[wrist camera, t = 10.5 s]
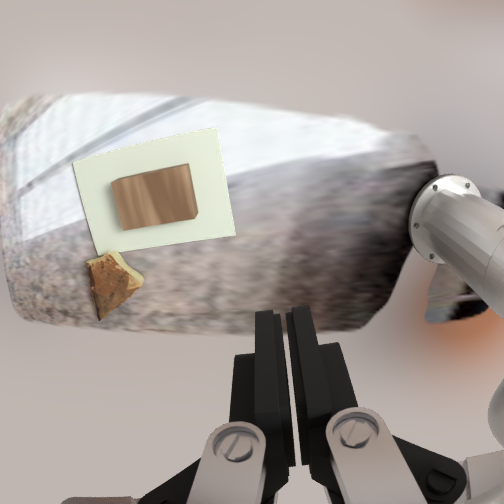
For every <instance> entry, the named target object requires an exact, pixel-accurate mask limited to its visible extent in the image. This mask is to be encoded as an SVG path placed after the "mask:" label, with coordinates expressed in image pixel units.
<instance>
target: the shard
mask: <svg viewBox="0 0 504 504" xmlns="http://www.w3.org/2000/svg"><path fill="white" fill-rule="evenodd" d="M86 264H87V270H88V276H89V279H90V286H91V292H92V297H93V300H94V303H95V307H96V309H97V316H98V319H99V321H100V320H101V319H103V318H104V317H105V316H106V315H107V314H108V313H109V312H110V311H112V310H113V309H114V308H116V307H118V306H119V305H120V304H122V303H123V302H125V301H126V300H127V299H128V298H129V297H131V296H132V295H133V294H134V293H135V292H136V290H137V289H139V288H140V287H141V286H142V284H143V283H144V277H143V276H142V275H140V274H139V273H138V272H136V271H135V270H133V269H132V268H130V267H129V266H128V265H127V264H126V262H125V261H124V260H123V258H122V257H121V255H120V254H119V253H118V252H117V251H115V252H113V251H108V252H107V253H106V254H104V256H101V257H100V258H96V259H91V260H89V261H87V262H86Z"/></svg>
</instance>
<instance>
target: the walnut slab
mask: <svg viewBox="0 0 504 504" xmlns="http://www.w3.org/2000/svg"><path fill="white" fill-rule="evenodd" d="M111 186H112V190H113V194H114V198H115V202H116V206H117V210H118V213H119V217H120V221H121V224H122V228H123V231H126V230H131V229H137V228H143V227H149V226H155V225H161V224H167V223H173V222H179V221H185V220H192V219H195V218H196V216H197V215H198V213H199V212H198V207H197V202H196V197H195V192H194V187H193V182H192V177H191V171H190V166H189V163H187V164H182V165H176V166H171V167H166V168H162V169H157V170H152V171H148V172H143V173H139V174H134V175H130V176H126V177H121V178H118V179H116V180H114V181H112V182H111Z"/></svg>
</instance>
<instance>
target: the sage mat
mask: <svg viewBox="0 0 504 504" xmlns="http://www.w3.org/2000/svg"><path fill="white" fill-rule="evenodd" d="M187 163H189V166H190V171H191V177H192V182H193V187H194V192H195V197H196V202H197V207H198V212H199V213H198V215H197V216H196V218H195V219H192V220H185V221H179V222H173V223H167V224H161V225H155V226H149V227H143V228H137V229H131V230H126V231H123V228H122V224H121V221H120V217H119V213H118V210H117V206H116V202H115V198H114V194H113V190H112V186H111V182H112V181H114V180H116V179H118V178H121V177H126V176H130V175H134V174H139V173H143V172H148V171H152V170H157V169H162V168H166V167H171V166H176V165H182V164H187ZM73 167H74V171H75V175H76V179H77V184H78V188H79V191H80V195H81V199H82V203H83V207H84V210H85V214H86V217H87V221H88V224H89V228H90V231H91V234H92V238H93V241H94V244H95V247H96V250H97V253H98V255H104V254H106V253H107V252H108V251H113V252H115V251H117V252H124V251H131V250H137V249H144V248H151V247H157V246H164V245H171V244H178V243H185V242H192V241H199V240H206V239H213V238H220V237H227V236H235V235H236V233H235V227H234V221H233V216H232V210H231V204H230V199H229V193H228V187H227V181H226V176H225V170H224V164H223V158H222V152H221V146H220V140H219V134H218V129H217V127H215V128H209V129H204V130H199V131H194V132H189V133H184V134H179V135H174V136H170V137H165V138H161V139H156V140H152V141H148V142H144V143H140V144H136V145H132V146H128V147H124V148H120V149H117V150H113V151H109V152H106V153H102V154H99V155H95V156H92V157H89V158H85V159H82V160H79V161H76V162H73Z"/></svg>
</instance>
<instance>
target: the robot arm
mask: <svg viewBox="0 0 504 504" xmlns="http://www.w3.org/2000/svg"><path fill="white" fill-rule="evenodd" d="M409 235H410V238H411V242H412V244H413V246H414V248H415V249H416V250H417V251H418V253H419V254H420V255H421V256H423V257H424V258H425V259H426V260H428V261H430V262H433V263H437V264H444V263H446V264H447V265H448V266H449V267H451V268H452V269H453V270H454V271H455V272H456V273H457V274H458V275H459V276H460V277H461V278H462V279H463V280H464V281H465V282H466V283H467V284H468V285H469V286H470V287H471V288H472V289H473V290H474V291H475V292H476V293H477V294H478V295H479V296H480V297H481V298H482V299H483V300H484V301H485V302H486V303H487V304H488V306H489V307H491V308H492V310H493V311H494V312H495V313H497V314H498V315H499V316H500V317H502V318H504V209H502V208H501V207H498V206H496V205H494V204H492V203H491V202H489V201H487V200H485V199H483V198H481V195H480V192H479V191H478V189H477V188H476V186H475V185H474V184H473V183H472V182H471V181H470V180H468V179H466V178H465V177H463V176H460V175H456V174H444V175H440V176H437V177H436V178H434V179H432V180H430V181H429V182H428V183H427V184H426V185H425V186H424V187H423V188H422V189H421V190H420V192H419V193H418V195H417V196H416V198H415V200H414V202H413V205H412V207H411V211H410V215H409ZM286 322H287V331H288V340H289V349H290V358H291V366H292V367H291V368H292V376H293V386H294V395H295V403H296V413H297V423H298V432H299V442H300V451H301V462H302V465H309V469H310V474H311V477H312V479H313V480H315V481H316V482H318V483H320V484H322V485H323V486H324V490H325V493H326V496H327V500H328V503H329V504H504V450H501V451H497V452H492V453H488V454H483V455H478V456H473V457H467V458H466V459H465V461H460V462H456V461H454V460H453V459H450V458H447V457H445V456H442V455H440V454H437V453H435V452H432V451H429V450H427V449H424V448H422V447H419V446H417V445H415V444H412V443H410V442H407V441H405V440H403V439H400V438H398V437H396V436H393V435H391V433H390V431H389V429H388V428H387V426H386V424H385V422H384V420H383V419H382V418H381V417H380V415H379V414H377V413H376V412H374V411H373V410H370V409H367V408H361V407H358V404H357V401H356V397H355V394H354V390H353V387H352V383H351V380H350V377H349V373H348V370H347V367H346V364H345V360H344V357H343V354H342V351H341V347H340V345H339V343H338V342H336V343H329V344H323V345H318V341H317V336H316V332H315V328H314V324H313V320H312V316H311V312H310V307H309V305H306V306H299V307H292V312H288V313H286ZM287 376H288V375H287V367H286V358H285V350H284V342H283V334H282V326H281V318H280V314H273V310H268V311H259V312H255V353H252V354H240V355H235V358H234V369H233V381H232V392H231V404H230V416H229V423H227V424H223V425H222V426H220V427H218V428H217V429H215V430H214V431H213V432H212V433H211V434H210V436H209V438H208V440H207V442H206V445H205V448H204V451H203V455H202V457H201V458H200V459H198V460H197V461H195V462H194V463H193V464H191V465H190V466H188V467H187V468H185V469H184V470H183V471H181V472H180V473H178V474H177V475H175V476H174V477H172V478H171V479H169V480H168V481H166V482H165V483H163V484H162V485H160V486H159V487H157V488H155V489H154V490H152V491H151V492H149V493H147V494H146V495H145V496H143V497H142V498H139V499H133V498H132V497H131V496H130V497H129V496H128V497H72V498H68V499H66V500H64V501H63V502H62V503H61V504H277V498H278V490H279V489H280V488H282V487H283V486H284V485H285V484H286V483H287V482H288V476H289V467H293V466H296V462H295V450H294V439H293V427H292V417H291V406H290V395H289V385H288V377H287ZM488 422H489V426H490V429H491V431H492V433H493V435H494V436H495V438H496V439H497V441H498V442H499V443H500V444H501V445H502V446H503V447H504V379H503V381H502V382H501V384H500V385H499V387H498V388H497V390H496V391H495V393H494V395H493V397H492V399H491V402H490V405H489V408H488Z"/></svg>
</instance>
